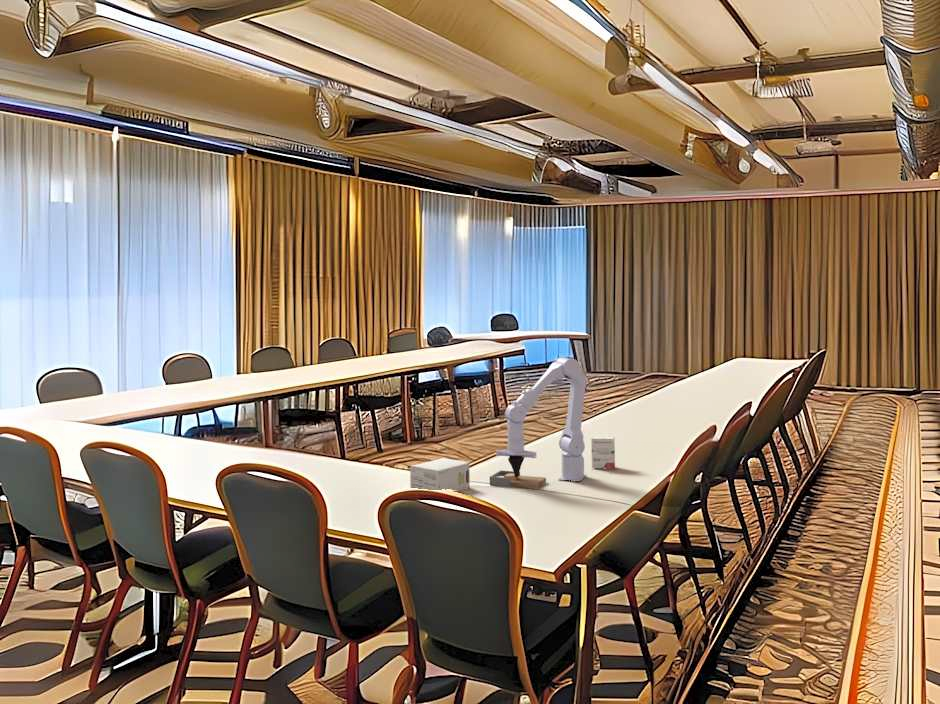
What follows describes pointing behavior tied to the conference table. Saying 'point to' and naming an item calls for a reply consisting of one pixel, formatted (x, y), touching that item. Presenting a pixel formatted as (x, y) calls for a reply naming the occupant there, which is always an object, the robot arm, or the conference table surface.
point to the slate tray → (501, 479)
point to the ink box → (603, 452)
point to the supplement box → (440, 475)
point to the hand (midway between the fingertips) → (516, 476)
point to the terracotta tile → (511, 476)
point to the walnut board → (528, 482)
